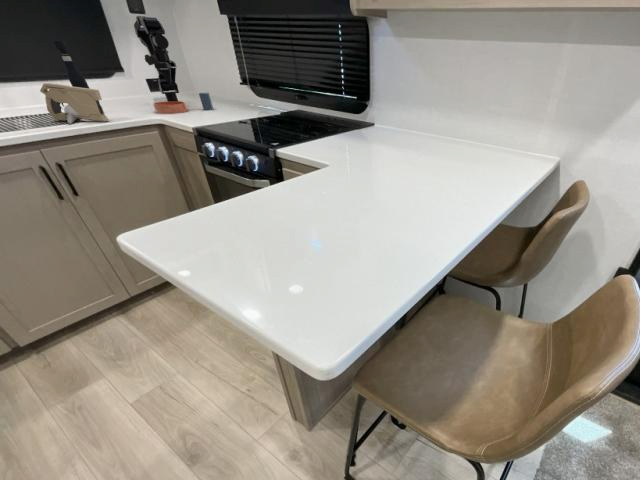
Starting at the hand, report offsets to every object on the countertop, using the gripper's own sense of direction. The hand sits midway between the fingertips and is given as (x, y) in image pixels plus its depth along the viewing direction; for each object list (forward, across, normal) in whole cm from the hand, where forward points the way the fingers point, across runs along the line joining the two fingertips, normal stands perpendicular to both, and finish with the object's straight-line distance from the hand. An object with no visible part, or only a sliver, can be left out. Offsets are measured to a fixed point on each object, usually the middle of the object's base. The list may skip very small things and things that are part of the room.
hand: (172, 83), depth 182 cm
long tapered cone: (+12, +33, -38) cm, 52 cm away
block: (+12, +7, +16) cm, 21 cm away
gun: (+12, +35, -34) cm, 51 cm away
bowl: (+12, +11, -2) cm, 16 cm away
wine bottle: (+12, +11, -39) cm, 42 cm away
